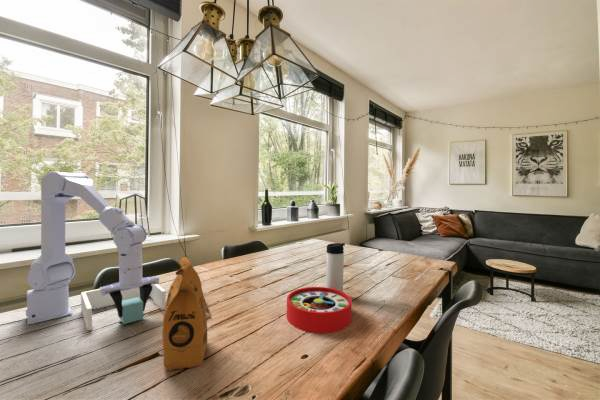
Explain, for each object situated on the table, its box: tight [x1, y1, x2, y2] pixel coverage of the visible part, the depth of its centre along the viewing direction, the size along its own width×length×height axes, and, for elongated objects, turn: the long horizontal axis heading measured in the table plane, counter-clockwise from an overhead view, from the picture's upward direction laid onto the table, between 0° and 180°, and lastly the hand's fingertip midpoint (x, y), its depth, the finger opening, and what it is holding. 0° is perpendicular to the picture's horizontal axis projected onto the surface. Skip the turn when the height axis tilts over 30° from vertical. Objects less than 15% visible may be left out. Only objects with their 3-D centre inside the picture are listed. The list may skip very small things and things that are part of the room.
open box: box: [80, 284, 167, 332], centre depth 86 cm, size 20×16×6 cm
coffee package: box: [161, 256, 208, 371], centre depth 63 cm, size 10×12×22 cm
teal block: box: [119, 297, 144, 325], centre depth 79 cm, size 5×5×5 cm
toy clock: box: [286, 286, 353, 334], centre depth 84 cm, size 20×6×20 cm
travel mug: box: [325, 242, 346, 292], centre depth 99 cm, size 6×7×20 cm
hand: (131, 313), depth 79 cm, fingers closed on teal block, 5 cm apart
